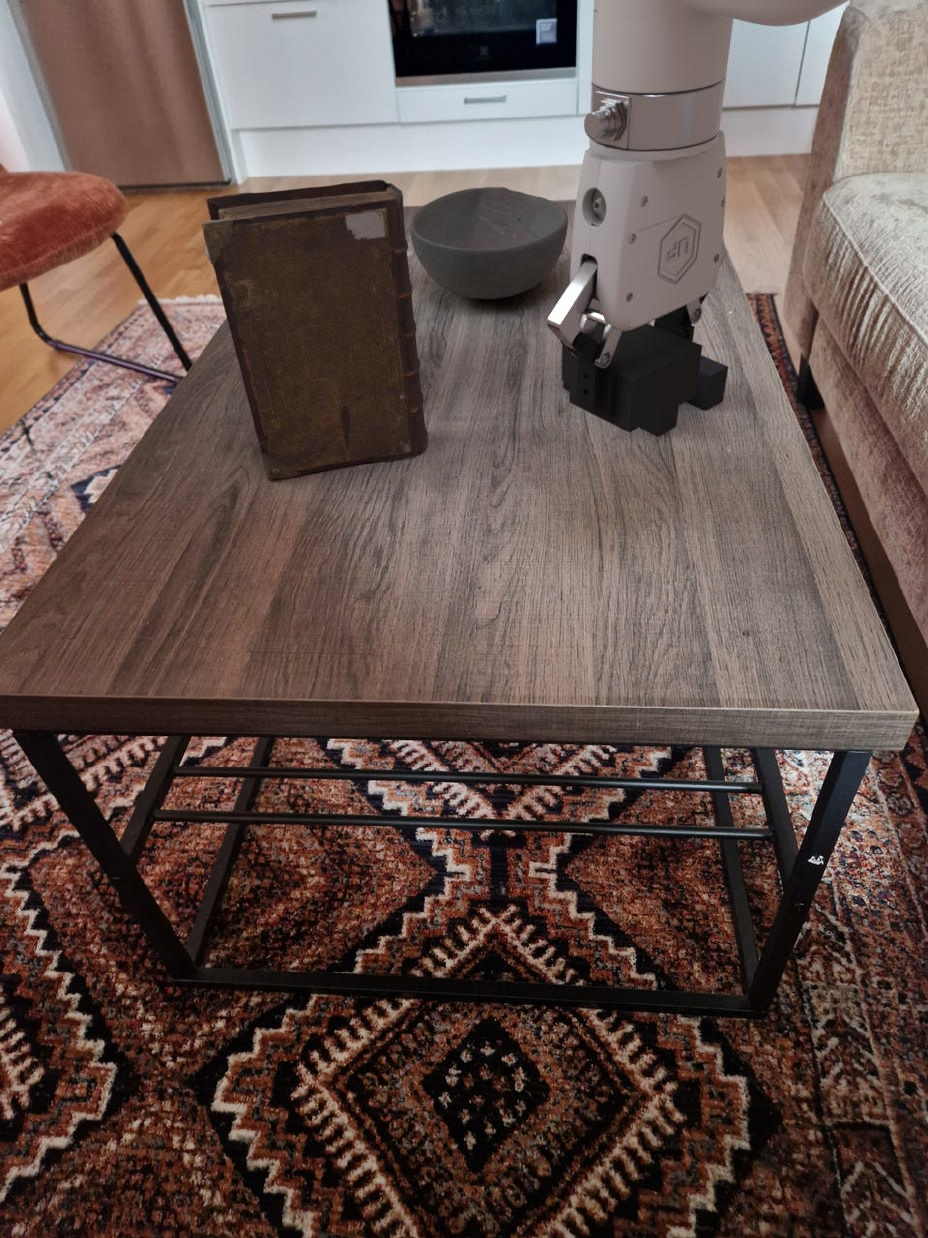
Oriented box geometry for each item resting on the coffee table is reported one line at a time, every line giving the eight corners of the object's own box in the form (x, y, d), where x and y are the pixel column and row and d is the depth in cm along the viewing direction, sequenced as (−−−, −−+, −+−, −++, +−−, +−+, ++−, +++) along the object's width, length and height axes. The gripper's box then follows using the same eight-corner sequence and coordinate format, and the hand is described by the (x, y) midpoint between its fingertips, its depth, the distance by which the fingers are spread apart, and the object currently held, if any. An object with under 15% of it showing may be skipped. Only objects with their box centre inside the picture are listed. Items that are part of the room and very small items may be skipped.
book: (428, 429, 89) (400, 173, 72) (432, 467, 84) (403, 200, 67) (270, 445, 89) (204, 192, 72) (264, 484, 84) (192, 221, 67)
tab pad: (695, 396, 62) (702, 345, 59) (629, 433, 59) (633, 380, 56) (607, 357, 67) (610, 308, 64) (543, 389, 64) (543, 339, 61)
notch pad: (723, 401, 89) (728, 366, 87) (657, 436, 85) (661, 401, 83) (626, 357, 98) (629, 324, 95) (563, 387, 94) (563, 353, 91)
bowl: (395, 318, 109) (385, 239, 102) (443, 257, 123) (437, 183, 116) (548, 329, 104) (548, 246, 97) (580, 264, 118) (582, 187, 111)
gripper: (595, 164, 43) (584, 458, 56) (800, 92, 51) (751, 366, 63) (500, 138, 48) (509, 416, 60) (701, 76, 55) (673, 335, 67)
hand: (633, 389), depth 62 cm, fingers closed on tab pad, 7 cm apart
